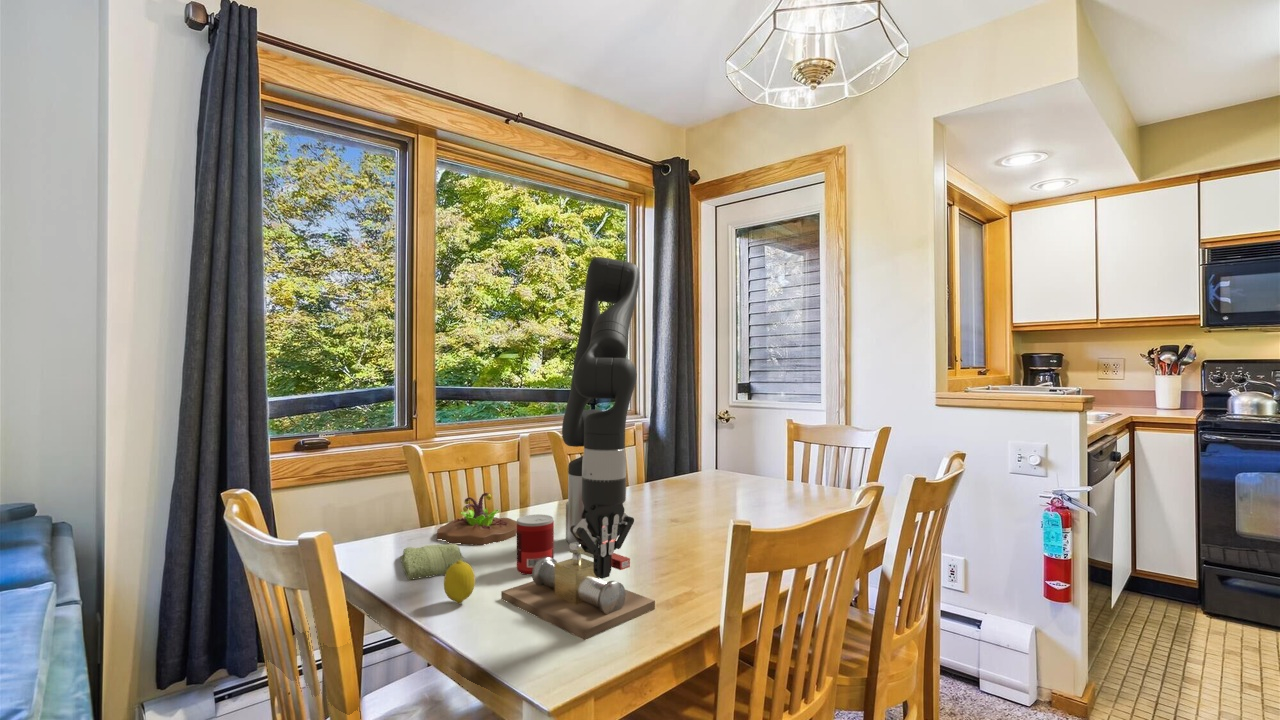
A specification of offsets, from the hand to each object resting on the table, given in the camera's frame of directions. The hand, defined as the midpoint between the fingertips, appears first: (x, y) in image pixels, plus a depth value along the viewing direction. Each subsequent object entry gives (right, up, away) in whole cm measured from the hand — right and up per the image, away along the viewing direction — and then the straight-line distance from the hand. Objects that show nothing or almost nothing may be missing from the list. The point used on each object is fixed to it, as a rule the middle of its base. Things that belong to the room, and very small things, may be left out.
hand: (602, 576), depth 100 cm
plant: (-36, -10, +55) cm, 67 cm away
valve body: (-5, -9, +10) cm, 14 cm away
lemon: (-27, -9, +10) cm, 30 cm away
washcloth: (-40, -10, +31) cm, 52 cm away
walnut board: (-5, -9, +10) cm, 14 cm away
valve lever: (-1, +1, +6) cm, 6 cm away
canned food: (-17, -9, +29) cm, 34 cm away
